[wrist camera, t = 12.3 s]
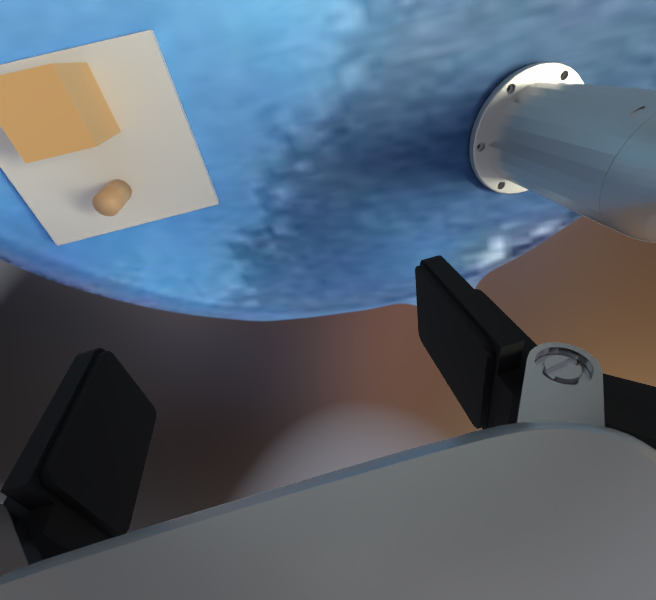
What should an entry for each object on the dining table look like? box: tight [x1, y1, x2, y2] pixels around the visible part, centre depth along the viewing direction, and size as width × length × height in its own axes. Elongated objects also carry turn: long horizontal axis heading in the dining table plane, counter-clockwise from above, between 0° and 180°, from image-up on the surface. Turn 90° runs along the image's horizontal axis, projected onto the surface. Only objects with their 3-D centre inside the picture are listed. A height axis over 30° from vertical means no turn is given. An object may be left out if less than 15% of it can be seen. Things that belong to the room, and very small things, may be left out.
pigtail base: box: [0, 30, 219, 246], centre depth 29 cm, size 16×14×5 cm
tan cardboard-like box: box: [0, 62, 121, 163], centre depth 26 cm, size 5×5×6 cm
